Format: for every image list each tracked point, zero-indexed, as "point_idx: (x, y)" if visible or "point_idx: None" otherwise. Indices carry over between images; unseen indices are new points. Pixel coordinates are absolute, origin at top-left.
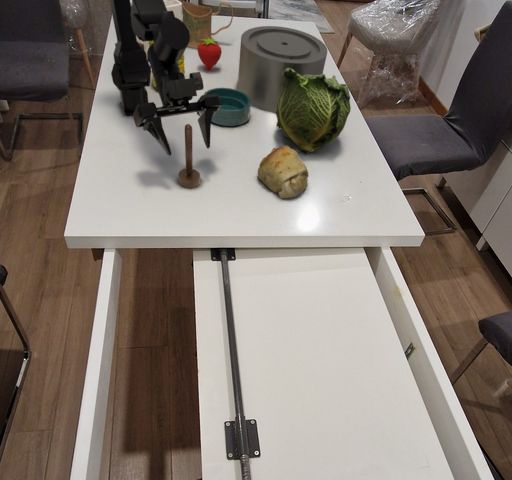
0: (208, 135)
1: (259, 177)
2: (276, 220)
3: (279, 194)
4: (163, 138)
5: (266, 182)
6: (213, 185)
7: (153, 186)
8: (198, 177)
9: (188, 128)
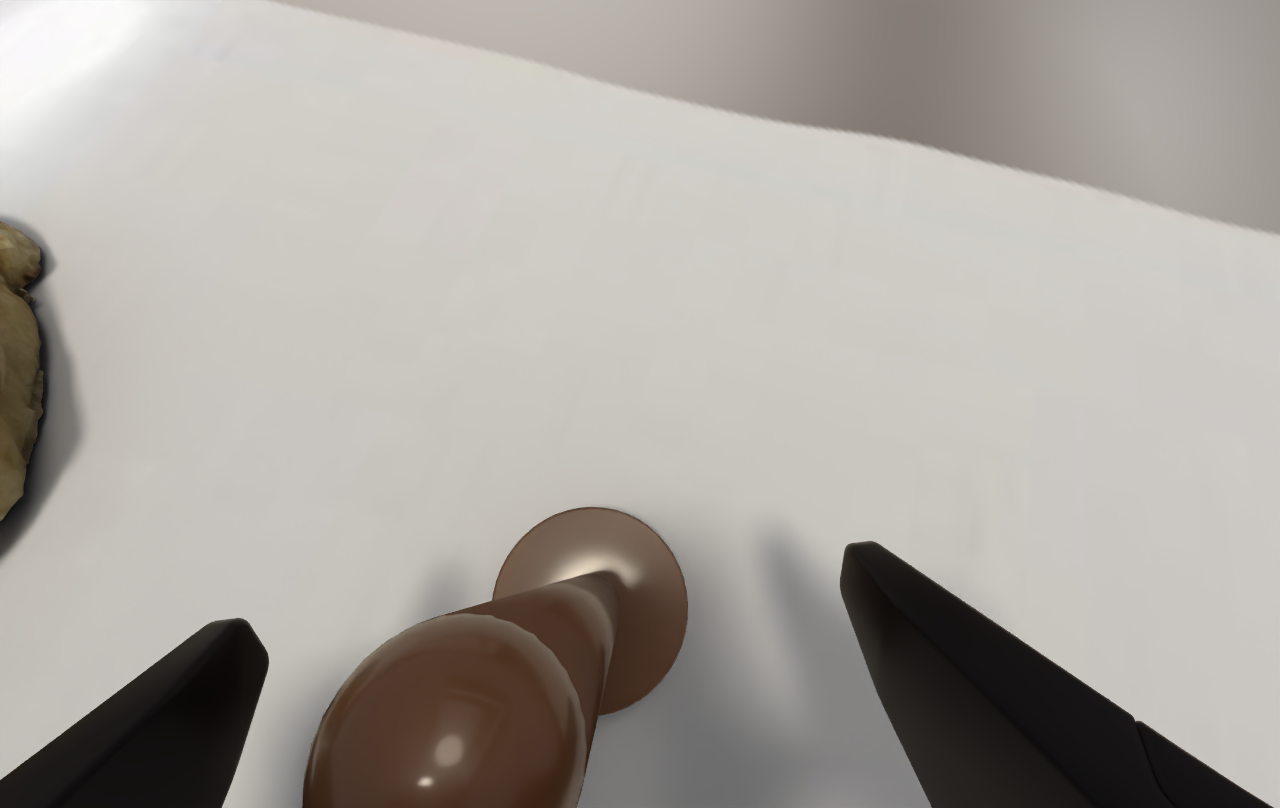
0: (40, 774)
1: (11, 472)
2: (219, 90)
3: (21, 253)
4: (1098, 721)
5: (7, 381)
6: (426, 511)
7: None
8: (526, 537)
9: (480, 644)
